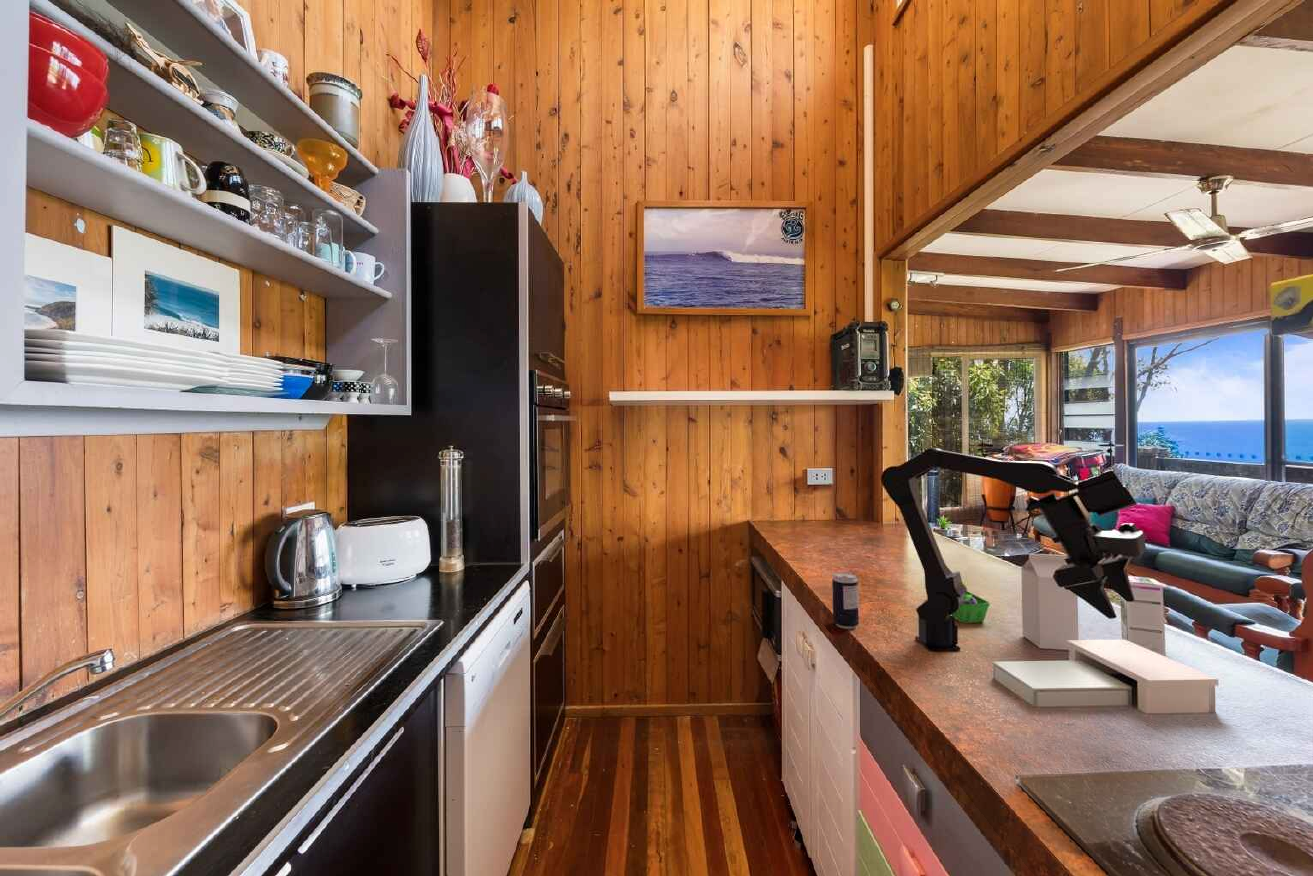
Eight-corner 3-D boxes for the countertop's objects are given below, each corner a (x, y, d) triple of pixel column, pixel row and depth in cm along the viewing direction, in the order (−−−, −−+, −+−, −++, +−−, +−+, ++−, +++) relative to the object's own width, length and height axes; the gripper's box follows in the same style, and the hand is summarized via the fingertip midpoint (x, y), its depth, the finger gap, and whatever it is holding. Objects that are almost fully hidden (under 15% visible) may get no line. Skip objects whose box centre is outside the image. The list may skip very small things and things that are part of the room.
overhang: (1149, 715, 80) (1148, 680, 80) (1067, 669, 96) (1066, 640, 96) (1219, 714, 80) (1218, 679, 80) (1125, 668, 96) (1124, 639, 96)
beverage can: (858, 622, 122) (857, 572, 122) (859, 631, 116) (858, 579, 116) (833, 620, 123) (832, 571, 124) (833, 628, 118) (832, 577, 118)
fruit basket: (992, 624, 119) (991, 576, 119) (954, 625, 119) (953, 577, 119) (963, 608, 130) (963, 565, 131) (929, 609, 131) (928, 565, 131)
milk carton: (1078, 651, 104) (1077, 558, 104) (1039, 649, 105) (1038, 557, 105) (1058, 638, 111) (1057, 551, 111) (1022, 636, 112) (1020, 550, 112)
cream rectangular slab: (1034, 706, 83) (1033, 688, 83) (993, 678, 93) (993, 661, 93) (1131, 705, 83) (1131, 687, 83) (1080, 676, 93) (1080, 660, 93)
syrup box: (1166, 658, 100) (1165, 585, 100) (1126, 652, 103) (1125, 581, 103) (1157, 648, 105) (1156, 578, 105) (1119, 642, 108) (1118, 574, 108)
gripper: (1100, 524, 82) (1162, 620, 77) (1138, 500, 92) (1195, 584, 87) (1030, 542, 91) (1082, 630, 86) (1071, 519, 100) (1120, 596, 96)
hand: (1122, 609), depth 88 cm, fingers open, 9 cm apart
